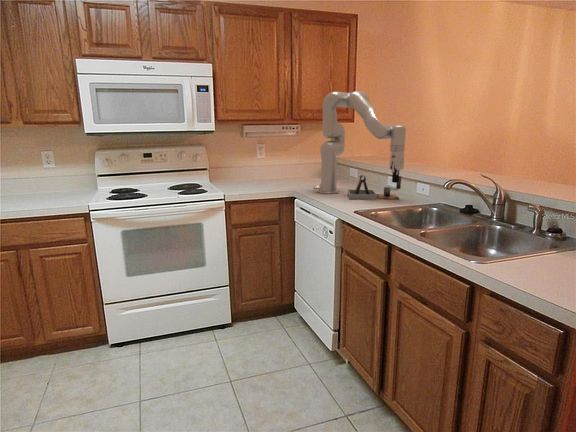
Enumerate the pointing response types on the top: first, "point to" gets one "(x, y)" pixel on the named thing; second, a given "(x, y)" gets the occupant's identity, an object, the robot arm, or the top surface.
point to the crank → (387, 189)
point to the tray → (362, 195)
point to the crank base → (388, 197)
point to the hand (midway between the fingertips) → (395, 182)
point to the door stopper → (360, 185)
